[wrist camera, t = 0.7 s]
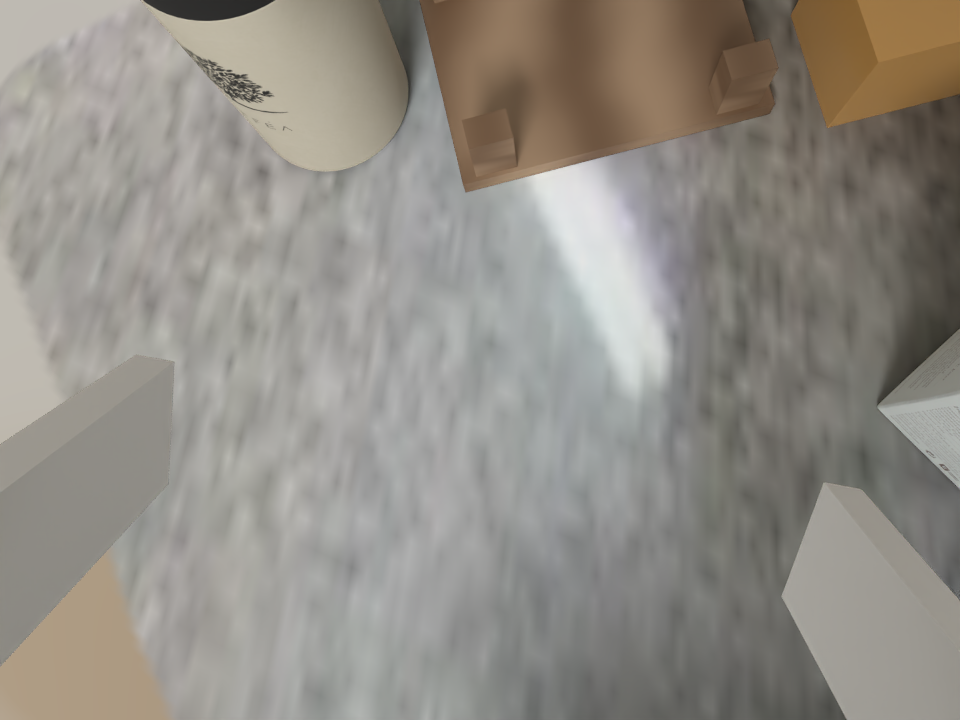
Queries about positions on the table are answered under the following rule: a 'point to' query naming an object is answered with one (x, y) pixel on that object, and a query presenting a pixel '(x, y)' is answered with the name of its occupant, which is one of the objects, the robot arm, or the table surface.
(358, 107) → the travel mug
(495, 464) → the table surface
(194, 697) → the table surface
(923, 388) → the small box
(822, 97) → the amber bottle
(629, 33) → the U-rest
